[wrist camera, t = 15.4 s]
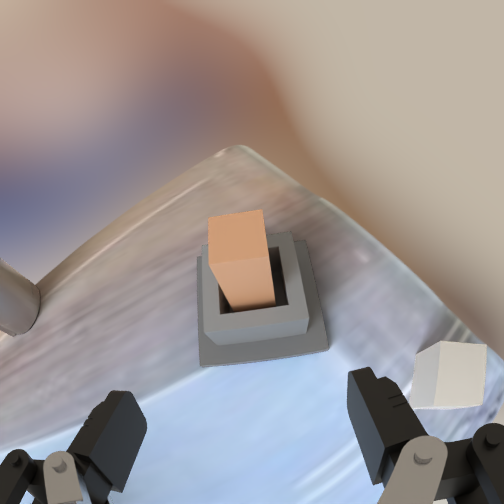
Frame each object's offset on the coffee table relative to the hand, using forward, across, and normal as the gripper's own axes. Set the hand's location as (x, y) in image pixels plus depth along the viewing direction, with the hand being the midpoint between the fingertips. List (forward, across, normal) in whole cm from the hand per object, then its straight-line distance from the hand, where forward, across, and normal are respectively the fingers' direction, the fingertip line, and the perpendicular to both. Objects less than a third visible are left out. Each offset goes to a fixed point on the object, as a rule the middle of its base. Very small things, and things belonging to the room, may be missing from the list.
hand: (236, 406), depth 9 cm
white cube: (+12, -18, +15) cm, 26 cm away
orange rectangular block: (+20, 0, +4) cm, 21 cm away
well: (+21, 0, +5) cm, 22 cm away
